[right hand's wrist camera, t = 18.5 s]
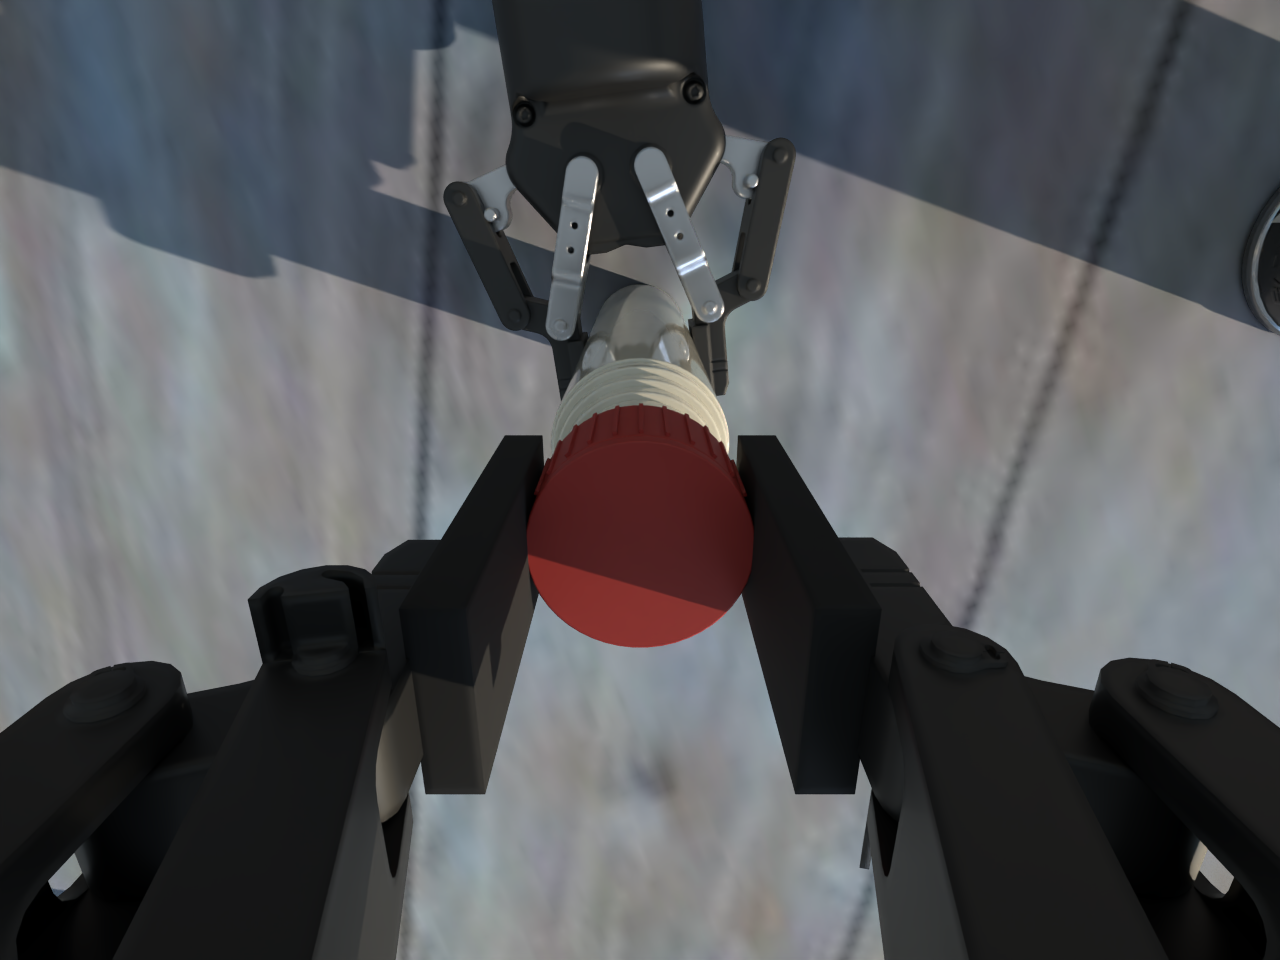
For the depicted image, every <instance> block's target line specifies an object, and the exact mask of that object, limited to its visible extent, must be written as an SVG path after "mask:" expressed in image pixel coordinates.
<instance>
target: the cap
mask: <svg viewBox="0 0 1280 960" xmlns="http://www.w3.org/2000/svg"><path fill="white" fill-rule="evenodd" d="M534 495H536V499H535V501H534V504H533V507H532V509H531V512H530V515H529V519H528V523H527V528H526V532H527V548H528V563H529V572H530V575H531V577H532V580H533V583H534V585H535V587H536V588H537V590H538V592H539V594H540V596H541V597H542V598H543V600H544V601H545V602H546V604H547V605H548V606H549V608H550V609H551V610H552V611H553V612H554V613H555V614H556V615H557V616H558V617H559V618H561V619H562V620H563V621H564V622H565V623H567V624H568V625H569V626H571V627H572V628H574V629H576V630H577V631H579V632H580V633H583V634H585V635H587V636H589V637H591V638H593V639H596V640H599V641H602V642H605V643H609V644H613V645H618V646H625V647H655V646H663V645H667V644H672V643H676V642H679V641H681V640H684V639H687V638H690V637H692V636H694V635H696V634H698V633H700V632H702V631H703V630H705V629H706V628H708V627H710V626H711V625H713V624H714V623H715V622H716V621H717V620H719V619H720V618H721V617H722V616H723V615H724V614H725V613H726V612H727V611H728V610H729V609H730V608H731V607H732V606H733V604H734V603H735V602H736V600H737V599H738V598H739V596H740V595H741V593H742V591H743V589H744V587H745V585H746V584H747V581H748V579H749V576H750V573H751V569H752V555H753V540H754V526H753V521H752V517H751V514H750V511H749V509H748V506H747V503H746V500H745V498H744V497H746V496H747V493H746V491H745V488H744V485H743V483H742V480H741V477H740V475H739V472H738V470H737V467H736V464H735V462H734V460H730V458H729V457H728V454H727V451H726V448H725V446H724V443H723V442H722V441H720V442H719V441H718V440H717V439H716V438H715V437H714V436H713V435H712V434H711V433H710V431H709V428H708V427H707V426H706V425H705V426H704V427H703V426H702V425H701V424H699V423H698V422H696V421H695V420H693V419H691V418H690V417H689V414H687V413H685V414H684V415H683V414H681V413H678V412H676V411H673V410H670V409H667V406H662V407H656V406H648V405H643V403H639V405H632V406H624V407H620V406H619V405H618V406H615V408H614V409H611V410H607V411H604V412H602V413H600V414H597V412H596V413H594V414H593V416H592V417H591V418H589V419H588V420H586V421H584V422H583V423H581V424H580V425H579V426H578V425H577V424H576V425H574V426H573V429H572V431H571V432H570V433H569V434H568V435H567V436H566V437H565V438H564V439H563V441H561V440H559V441H558V443H557V445H556V448H555V451H554V454H553V456H552V457H551V459H549V458H547V461H546V463H545V466H544V468H543V471H542V474H541V476H540V479H539V481H538V484H537V487H536V489H535V492H534Z"/></svg>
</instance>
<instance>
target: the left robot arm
mask: <svg viewBox="0 0 1280 960" xmlns="http://www.w3.org/2000/svg"><path fill="white" fill-rule="evenodd" d="M492 3H493V9H494V15H495V21H496V27H497V33H498V39H499V45H500V51H501V57H502V63H503V69H504V75H505V81H506V87H507V93H508V99H509V105H510V111H511V118H512V135H511V141H510V145H509V148H508V151H507V154H506V164H505V165H503V166H501V167H499V168H497V169H495V170H493V171H490V172H488V173H486V174H484V175H482V176H480V177H478V178H476V179H473V180H471V181H469V182H453V183H451V184H449V185H448V186H447V187H446V189H445V191H444V196H443V198H444V203H445V205H446V208H447V210H448V212H449V214H450V216H451V218H452V220H453V222H454V224H455V226H456V228H457V230H458V232H459V235H460V237H461V239H462V241H463V243H464V245H465V247H466V249H467V251H468V253H469V255H470V257H471V260H472V262H473V264H474V266H475V268H476V270H477V272H478V274H479V276H480V278H481V280H482V282H483V285H484V287H485V289H486V291H487V293H488V295H489V297H490V299H491V301H492V303H493V305H494V307H495V309H496V312H497V314H498V316H499V318H500V320H501V322H502V324H503V325H504V326H505V327H506V328H508V329H510V330H513V331H517V330H521V329H522V330H526V331H531V332H535V333H539V334H541V335H543V336H545V337H546V338H547V339H548V340H549V342H550V343H551V346H552V349H553V355H554V361H555V367H556V373H557V379H558V385H559V391H560V397H561V401H562V399H563V397H564V394H565V392H566V390H567V387H568V385H569V382H570V380H571V378H572V375H573V373H574V371H575V368H576V366H577V363H578V361H579V359H580V356H581V354H582V352H583V349H584V347H585V345H586V342H587V340H588V333H587V332H584V333H582V327H581V320H580V315H581V309H582V303H583V297H584V291H585V285H586V280H587V276H588V271H589V265H590V259H591V254H599V253H607V252H609V251H611V250H614V249H616V248H618V247H621V246H623V245H634V246H640V247H654V246H662V245H665V246H666V248H667V251H668V253H669V255H670V258H671V260H672V262H673V265H674V267H675V269H676V271H677V274H678V276H679V278H680V281H681V283H682V285H683V288H684V290H685V292H686V295H687V297H688V299H689V302H690V304H691V306H692V317H693V319H688V324H689V333H690V335H691V337H692V340H693V342H694V344H695V347H696V349H697V352H698V354H699V356H700V359H701V361H702V363H703V366H704V368H705V370H706V373H707V375H708V377H709V380H710V382H711V385H712V387H713V389H714V392H715V394H716V396H719V395H725V393H726V390H727V387H728V384H729V379H728V365H727V352H726V339H725V321H726V318H727V316H728V315H729V314H730V312H731V311H733V310H734V309H736V308H738V307H740V306H742V305H744V304H745V303H747V302H749V301H755V300H758V299H760V298H761V297H763V296H764V294H765V293H766V291H767V287H768V283H769V278H770V274H771V269H772V264H773V260H774V255H775V250H776V246H777V241H778V236H779V232H780V227H781V223H782V218H783V213H784V209H785V204H786V199H787V195H788V190H789V185H790V181H791V176H792V172H793V167H794V162H795V157H796V151H795V147H794V145H793V144H792V143H791V142H790V141H789V140H788V139H785V138H776V139H774V140H772V141H770V142H762V141H756V140H751V139H745V138H739V137H734V136H728V135H725V132H724V129H723V126H722V124H721V123H720V121H719V119H718V118H717V116H716V115H715V112H714V110H713V108H712V105H711V102H710V98H709V92H708V80H707V66H706V53H705V39H704V25H703V12H702V0H492ZM720 163H722V164H724V165H726V166H727V167H728V168H729V170H730V172H731V175H732V188H733V191H734V193H735V194H736V195H737V196H738V197H740V198H743V199H746V202H745V207H744V212H743V217H742V222H741V227H740V232H739V237H738V242H737V247H736V253H735V258H734V263H733V268H732V272H731V273H729V274H728V275H726V276H724V277H722V278H720V279H718V280H716V281H715V280H714V278H713V275H712V273H711V270H710V268H709V265H708V263H707V260H706V256H705V254H704V251H703V249H702V246H701V244H700V241H699V239H698V236H697V234H696V232H695V229H694V227H693V224H692V222H691V219H690V217H691V215H692V213H693V212H694V210H695V208H696V206H697V204H698V202H699V201H700V199H701V197H702V195H703V193H704V191H705V189H706V188H707V186H708V184H709V182H710V180H711V178H712V177H713V175H714V173H715V171H716V169H717V167H718V166H719V164H720ZM516 190H518V191H519V192H520V193H521V194H522V195H523V196H524V197H525V198H526V200H527V201H528V202H529V203H530V204H531V205H532V206H533V207H534V208H535V209H536V211H537V212H538V213H539V214H540V215H541V216H542V217H543V218H544V219H545V220H546V221H547V223H548V224H549V225H550V226H551V227H552V228H553V229H554V230H555V231H556V232H557V240H556V247H555V254H554V261H553V267H552V283H551V290H550V297H549V301H548V300H543V299H539V298H535V297H533V295H532V292H531V290H530V288H529V286H528V284H527V282H526V279H525V277H524V275H523V273H522V271H521V268H520V266H519V264H518V262H517V260H516V258H515V255H514V253H513V251H512V249H511V247H510V244H509V242H508V240H507V238H506V236H505V234H504V231H503V230H504V229H506V228H508V227H509V225H510V224H511V222H512V210H511V206H510V201H511V197H512V195H513V193H514V192H515V191H516ZM677 236H678V237H677ZM1242 282H1243V289H1244V294H1245V297H1246V301H1247V303H1248V305H1249V308H1250V310H1251V311H1252V313H1253V314H1254V316H1255V317H1256V318H1257V320H1258V321H1259V322H1260V323H1261V324H1262V325H1263V326H1264V327H1266V328H1267V329H1269V330H1270V331H1271V332H1273V333H1275V334H1277V335H1279V336H1280V188H1279V189H1278V190H1277V191H1276V192H1275V194H1274V195H1273V196H1272V197H1271V199H1270V200H1269V201H1268V203H1267V204H1266V206H1265V207H1264V209H1263V210H1262V212H1261V214H1260V215H1259V217H1258V219H1257V221H1256V223H1255V225H1254V227H1253V229H1252V231H1251V234H1250V236H1249V239H1248V242H1247V245H1246V249H1245V253H1244V258H1243V266H1242Z"/></svg>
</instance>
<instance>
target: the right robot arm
mask: <svg viewBox="0 0 1280 960" xmlns="http://www.w3.org/2000/svg"><path fill="white" fill-rule="evenodd" d="M736 467H737V470H738V472H739V475H740V477H741V480H742V483H743V485H744V488H745V491H746V493H747V496H746V497H744V498H745V500H746V503H747V506H748V509H749V511H750V514H751V517H752V521H753V526H754V540H753V555H752V569H751V573H750V576H749V579H748V581H747V584H746V585H745V587H744V589H743V591H742V597H743V600H744V604H745V608H746V612H747V615H748V619H749V623H750V626H751V630H752V634H753V638H754V641H755V645H756V649H757V653H758V656H759V660H760V664H761V668H762V671H763V675H764V679H765V683H766V686H767V690H768V694H769V697H770V701H771V705H772V709H773V712H774V716H775V720H776V724H777V727H778V731H779V735H780V739H781V742H782V746H783V750H784V754H785V757H786V761H787V765H788V769H789V772H790V776H791V780H792V783H793V787H794V791H795V794H855V790H856V783H857V776H858V769H859V762H860V760H861V762H862V765H863V767H864V770H865V772H866V775H867V777H868V780H869V782H870V784H871V787H872V790H871V796H870V803H869V809H868V815H867V822H866V828H865V835H864V841H863V847H862V854H861V861H860V868H864V869H869V867H870V861H871V857H872V865H873V873H874V880H875V888H876V896H877V904H878V912H879V919H880V927H881V935H882V943H883V951H884V958H885V960H1280V728H1279V727H1278V726H1276V725H1275V724H1274V723H1273V722H1271V721H1270V720H1269V719H1267V718H1266V717H1265V716H1263V715H1262V714H1261V713H1260V712H1258V711H1257V710H1256V709H1254V708H1253V707H1252V706H1250V705H1249V704H1248V703H1246V702H1245V701H1244V700H1243V699H1241V698H1240V697H1239V696H1237V695H1236V694H1235V693H1233V692H1231V691H1230V690H1228V689H1226V688H1225V687H1223V686H1222V685H1220V684H1218V683H1217V682H1215V681H1214V680H1212V679H1210V678H1208V677H1205V676H1203V675H1200V674H1198V673H1196V672H1193V671H1191V670H1190V669H1188V668H1186V667H1184V666H1181V665H1177V664H1174V663H1171V664H1169V663H1168V662H1166V661H1161V660H1155V659H1152V660H1151V659H1139V658H1125V659H1119V660H1113V661H1110V662H1109V663H1108V664H1106V665H1105V666H1104V667H1103V668H1102V669H1101V670H1100V674H1099V677H1098V680H1097V684H1096V687H1095V691H1093V690H1088V689H1083V688H1078V687H1072V686H1067V685H1062V684H1057V683H1052V682H1046V681H1041V680H1037V679H1033V678H1030V677H1026V676H1024V675H1023V673H1022V671H1021V669H1020V667H1019V665H1018V663H1017V662H1016V661H1015V659H1014V658H1013V657H1012V656H1011V655H1010V653H1009V652H1008V651H1007V650H1006V649H1005V648H1003V647H1002V646H1000V645H999V644H997V643H996V642H994V641H993V640H991V639H989V638H988V637H985V636H983V635H980V634H978V633H975V632H973V631H970V630H968V629H964V628H959V627H954V626H952V625H951V623H950V622H949V621H948V620H947V618H946V617H945V616H944V614H943V613H942V612H941V610H940V609H939V608H938V606H937V605H936V604H935V602H934V601H933V600H932V598H931V597H930V596H929V595H928V593H927V592H926V591H925V589H924V588H923V587H920V583H919V581H918V580H917V579H916V577H915V576H914V575H913V573H912V572H909V568H908V567H907V566H906V564H905V563H904V562H903V560H902V559H901V558H900V556H899V555H898V554H897V552H895V551H894V550H892V549H890V548H889V547H887V546H886V545H884V544H882V543H881V542H879V541H877V540H876V539H874V538H838V536H837V535H836V533H835V532H834V530H833V528H832V527H831V525H830V523H829V522H828V520H827V519H826V517H825V515H824V514H823V512H822V510H821V509H820V507H819V506H818V504H817V502H816V501H815V499H814V497H813V496H812V494H811V492H810V491H809V489H808V488H807V486H806V484H805V483H804V481H803V479H802V478H801V476H800V475H799V473H798V471H797V470H796V468H795V466H794V465H793V463H792V462H791V460H790V458H789V457H788V455H787V453H786V452H785V450H784V448H783V447H782V445H781V444H780V442H779V440H778V439H777V437H776V435H738V446H737V465H736ZM543 468H544V456H543V438H542V435H505V436H504V438H503V439H502V441H501V443H500V444H499V446H498V448H497V449H496V451H495V453H494V454H493V456H492V457H491V459H490V461H489V462H488V464H487V466H486V467H485V469H484V470H483V472H482V474H481V475H480V477H479V479H478V480H477V482H476V483H475V485H474V487H473V488H472V490H471V492H470V493H469V495H468V497H467V498H466V500H465V501H464V503H463V505H462V506H461V508H460V510H459V511H458V513H457V514H456V516H455V518H454V519H453V521H452V523H451V524H450V526H449V527H448V529H447V531H446V532H445V534H444V536H443V537H442V539H441V540H407V541H406V542H404V543H402V544H401V545H399V546H397V547H396V548H394V549H393V550H391V551H389V552H388V553H386V554H385V555H384V556H383V557H382V559H381V560H380V561H379V563H378V564H377V565H376V567H375V568H374V569H373V570H372V574H371V573H369V572H368V571H367V570H365V569H362V568H357V567H353V566H349V565H325V566H320V567H314V568H308V569H302V570H299V571H296V572H293V573H290V574H287V575H284V576H281V577H278V578H277V579H275V580H273V581H271V582H269V583H267V584H266V585H264V586H262V587H260V588H259V589H258V590H257V591H256V592H255V593H254V594H253V595H252V596H251V597H250V598H249V599H248V603H249V608H250V612H251V616H252V620H253V625H254V629H255V633H256V637H257V641H258V646H259V650H260V654H261V658H262V663H263V664H262V666H261V668H260V670H259V672H258V674H257V676H256V678H255V680H252V681H248V682H244V683H240V684H235V685H230V686H225V687H219V688H214V689H209V690H204V691H199V692H194V693H188V694H187V692H186V689H185V685H184V682H183V678H182V675H181V672H180V671H178V670H177V669H176V668H175V667H174V666H172V665H171V664H167V663H161V662H155V661H145V662H133V663H122V664H117V665H114V667H111V666H109V667H105V668H102V669H99V670H96V671H94V672H92V673H91V674H89V675H87V676H84V677H82V678H80V679H77V680H75V681H73V682H70V683H69V684H67V685H66V686H64V687H62V688H61V689H59V690H58V691H56V692H54V693H53V694H51V695H50V696H48V697H46V698H45V699H44V700H43V701H41V702H40V703H39V704H37V705H36V706H35V707H33V708H32V709H31V710H30V711H28V712H27V713H26V714H24V715H23V716H22V717H21V718H19V719H18V720H17V721H15V722H14V723H13V724H11V725H10V726H9V727H8V728H6V729H5V730H4V731H2V732H1V733H0V960H396V952H397V945H398V937H399V929H400V921H401V913H402V905H403V898H404V890H405V882H406V874H407V866H408V858H409V851H410V843H411V835H412V827H413V817H412V809H411V803H410V796H409V789H410V787H411V784H412V782H413V779H414V777H415V774H416V772H417V769H418V767H419V764H420V762H421V766H422V773H423V780H424V787H425V793H426V794H485V793H486V789H487V785H488V781H489V778H490V774H491V770H492V767H493V763H494V759H495V755H496V752H497V748H498V744H499V740H500V737H501V733H502V729H503V725H504V722H505V718H506V714H507V710H508V707H509V703H510V699H511V695H512V692H513V688H514V684H515V680H516V677H517V673H518V669H519V666H520V662H521V658H522V654H523V651H524V647H525V643H526V639H527V636H528V632H529V628H530V624H531V621H532V617H533V613H534V609H535V606H536V602H537V598H538V594H539V592H538V590H537V588H536V587H535V585H534V583H533V580H532V577H531V575H530V572H529V563H528V548H527V532H526V528H527V523H528V519H529V515H530V512H531V509H532V507H533V504H534V501H535V499H536V495H534V492H535V489H536V487H537V484H538V481H539V479H540V476H541V474H542V471H543ZM1207 849H1208V850H1209V851H1210V852H1211V853H1212V854H1213V855H1214V856H1215V857H1216V858H1217V859H1218V860H1219V861H1220V862H1221V863H1222V865H1223V866H1224V867H1225V868H1226V869H1227V870H1228V871H1229V872H1230V873H1231V874H1232V875H1233V876H1234V879H1233V881H1232V884H1231V886H1230V888H1229V891H1228V892H1227V893H1226V894H1223V893H1221V892H1220V891H1219V890H1218V889H1217V888H1216V887H1215V886H1213V885H1212V884H1211V883H1210V882H1209V881H1208V879H1207V878H1206V877H1205V876H1204V875H1203V874H1202V873H1201V872H1200V871H1199V869H1200V867H1201V864H1202V862H1203V859H1204V857H1205V854H1206V852H1207ZM73 853H75V855H76V858H77V860H78V863H79V865H80V868H81V870H82V874H81V875H80V876H79V878H78V879H77V880H76V881H75V882H74V883H73V884H72V885H71V886H70V887H69V888H68V889H67V890H65V891H64V892H63V893H62V894H60V895H59V896H58V897H57V896H56V895H54V894H53V892H52V889H51V887H50V885H49V882H48V880H49V879H50V878H51V877H52V876H53V875H54V874H55V873H56V872H57V871H58V870H59V868H60V867H61V866H62V865H63V864H64V863H65V862H66V861H67V860H68V859H69V858H70V857H71V856H72V855H73Z"/></svg>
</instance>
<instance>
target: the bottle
mask: <svg viewBox="0 0 1280 960" xmlns="http://www.w3.org/2000/svg"><path fill="white" fill-rule="evenodd" d="M639 403H643V405H648V406H656V407H662V406H667V409H670V410H673V411H676V412H678V413H681V414H683V415H684V414H685V413H687V414H689V417H690V418H691V419H693V420H695V421H696V422H698V423H699V424H701V425H702V426H703V427H704V426H705V425H706V426H707V427H708V428H709V431H710V433H711V434H712V435H713V436H714V437H715V438H716V439H717V440H718V441H719V442H720V441H722V442H723V443H724V446H725V448H726V451H727V454H728V452H729V433H728V426H727V422H726V419H725V415H724V413H723V411H722V408H721V406H720V403H719V401H718V399H717V396H716V394H715V392H714V389H713V387H712V385H711V382H710V380H709V377H708V375H707V373H706V370H705V368H704V366H703V363H702V361H701V359H700V356H699V354H698V352H697V349H696V347H695V344H694V342H693V340H692V337H691V335H690V333H689V330H688V328H687V326H686V323H685V321H684V318H683V316H682V314H681V311H680V309H679V307H678V306H677V304H676V302H675V301H674V300H673V299H672V298H671V297H670V296H669V295H668V294H667V293H665V292H664V291H662V290H661V289H659V288H656V287H654V286H650V285H643V284H636V285H630V286H627V287H624V288H622V289H619V290H618V291H616V292H615V293H613V294H612V295H611V296H610V297H609V298H608V299H607V300H606V301H605V303H604V304H603V306H602V307H601V309H600V311H599V314H598V316H597V318H596V321H595V323H594V326H593V328H592V330H591V333H590V335H589V337H588V340H587V342H586V345H585V347H584V349H583V352H582V354H581V356H580V359H579V361H578V363H577V366H576V368H575V371H574V373H573V375H572V378H571V380H570V382H569V385H568V387H567V390H566V392H565V394H564V397H563V399H562V401H561V404H560V406H559V408H558V411H557V413H556V417H555V420H554V423H553V428H552V434H551V450H552V456H553V454H554V451H555V448H556V445H557V443H558V441H559V440H561V441H563V439H564V438H565V437H566V436H567V435H568V434H569V433H570V432H571V431H572V429H573V426H574V425H576V424H577V425H578V426H579V425H580V424H581V423H583V422H584V421H586V420H588V419H589V418H591V417H592V416H593V414H594V413H596V412H597V414H600V413H602V412H604V411H607V410H611V409H614V408H615V406H618V405H619V406H620V407H624V406H632V405H639Z"/></svg>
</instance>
